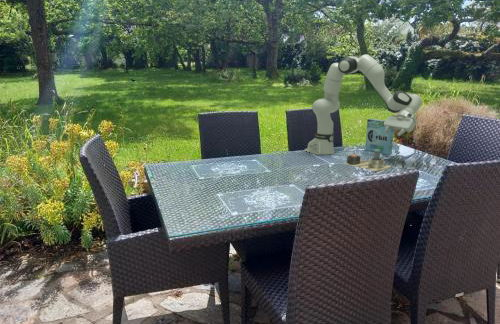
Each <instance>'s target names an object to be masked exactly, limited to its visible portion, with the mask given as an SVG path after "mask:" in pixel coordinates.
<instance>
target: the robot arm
mask: <svg viewBox="0 0 500 324" xmlns="http://www.w3.org/2000/svg"><path fill="white" fill-rule="evenodd" d="M359 71H360V72H361V73H362V74H363V75H364V76H365V78H367V79H368V81H369V82H370V83H371V85H372V86H373V88H374V90H375V91H376V93H378V96H380V98H381V99H382V100H383V102H384V104H385V106H386V109H387V111H388V112H390V113H392V114H393V113H394V114H396V115H390V116H389V117H387V119H385V120H384V121H385V122H384V123H383V124H384V126H385V127H386V130H385V133H387V134H388V133H389V131H388V130H389V129H394V130H398V131H397V133H396V136H398V137H400V136H401V135H403V134H404V133H405V132H408V133H410V132H411V133H412V132H413V130H414V128H415V127H416V124H418V119H417V117H416V116H415V114H416V113H417V112H418V111H419V110H420V108H421V106H422V104H423V100H422V97H421V96H420V95H418V94H416V93H407V92H405V91H404V90H396V91H395V92H394V93H393V94H392V93H391V92H390V90H389V88H388V87H387V86H386V84H385V76H386V75H385V74H386V73H385V70H384V68H383V66H382V65H381V64H380V63H379V62H378V61H377V60H376V59H375V58H373V57H372V56H371V55H369V54H362V55H361V56H356V55H349V56H345V57H343V58H341V59H339V61H338V62H334V63H332V64H331V65H330V66H329V68H328V70H327V73H326V76H325V79H324V84H323V88H322V89H323V91H324V95H323V98H318V99H317V100H315V101H314V102H313V103H312V106H311V109H312V111H313V113H314V114H315V116H316V121H317V130H316V133H314V136H315V137H314V138H313V139H312V140H310V141H309V142H308V143H307V148H305V149H304V150H303V151H304V152H306V151H307V153H309V152H310V154H313V155H324V156H325V155H333V154H335V153H336V152H335V148H334V137H335V136H334V135H335V134H334V121H333V120H332V117H331V114H332V113H335V112H337V111H338V110H339V108H340V106H341V105H340V104H341V103H340V101H339V93H340V89H341V85H342V82H343V78H344V76H345V75H347V74H353V73H358V72H359Z"/></svg>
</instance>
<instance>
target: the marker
mask: <svg viewBox="0 0 500 324" xmlns="http://www.w3.org/2000/svg"><path fill="white" fill-rule="evenodd" d="M380 157H381V153H380V149H374V152H373V158H374V160H376V161H379V158H380ZM380 159H381V158H380Z"/></svg>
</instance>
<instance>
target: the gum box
mask: <svg viewBox="0 0 500 324" xmlns="http://www.w3.org/2000/svg"><path fill="white" fill-rule="evenodd" d="M385 121H386V120H382V119H375V118H369V119H367V120H366V122H367V123H366V132H365V134H366V135H365V146H364V147H365V149H364V151H367V152H368V151H369V152H372V153H374V149H380V154H383V155H388V156H389V155H392V153H393V143H394V133H395V129H389V130H388V131H389V133H388V134H387V133H385V130H386V127H385V126H384V124H383V123H384V122H385Z"/></svg>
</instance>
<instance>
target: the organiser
mask: <svg viewBox="0 0 500 324" xmlns="http://www.w3.org/2000/svg"><path fill="white" fill-rule="evenodd" d="M343 164H344V165H348V166H352V167H356V168H361V169H366V170H369V171H373V172H374V173H379V172H383V171H385V170H390V169H391V168H392V165H388V164H385V159H384V158H379V161H376V160H374V157H372V158H368V160H365V159H361V156H359V155H357V157H355V158H354V157H351V155H347V156H346V162H345V163H343Z"/></svg>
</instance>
